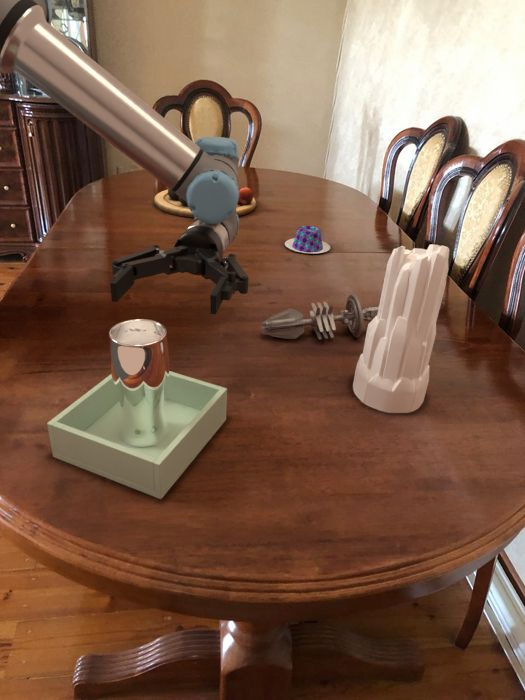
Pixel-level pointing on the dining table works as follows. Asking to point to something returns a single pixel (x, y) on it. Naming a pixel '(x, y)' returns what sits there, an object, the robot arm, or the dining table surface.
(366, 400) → the decorative vase
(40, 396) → the dining table surface
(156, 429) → the beer glass
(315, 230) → the pudding
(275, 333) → the spaceship
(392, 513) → the dining table surface
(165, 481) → the tub
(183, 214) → the wooden plate
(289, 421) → the dining table surface
